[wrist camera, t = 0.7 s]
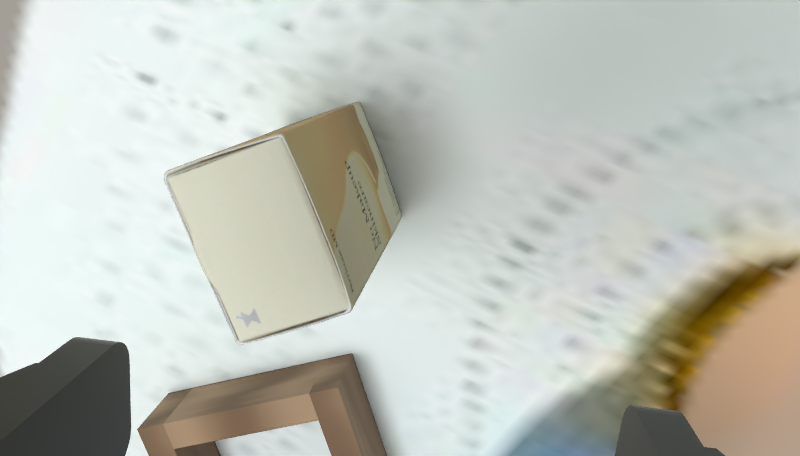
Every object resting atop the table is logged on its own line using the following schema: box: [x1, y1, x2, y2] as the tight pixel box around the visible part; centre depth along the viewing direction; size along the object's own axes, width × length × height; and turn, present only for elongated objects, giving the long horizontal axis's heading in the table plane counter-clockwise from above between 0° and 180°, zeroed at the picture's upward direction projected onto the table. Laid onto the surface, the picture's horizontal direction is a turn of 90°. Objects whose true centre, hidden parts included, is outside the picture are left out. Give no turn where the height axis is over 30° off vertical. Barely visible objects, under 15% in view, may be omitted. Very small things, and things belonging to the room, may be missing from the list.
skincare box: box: [164, 102, 401, 345], centre depth 26 cm, size 6×4×12 cm
